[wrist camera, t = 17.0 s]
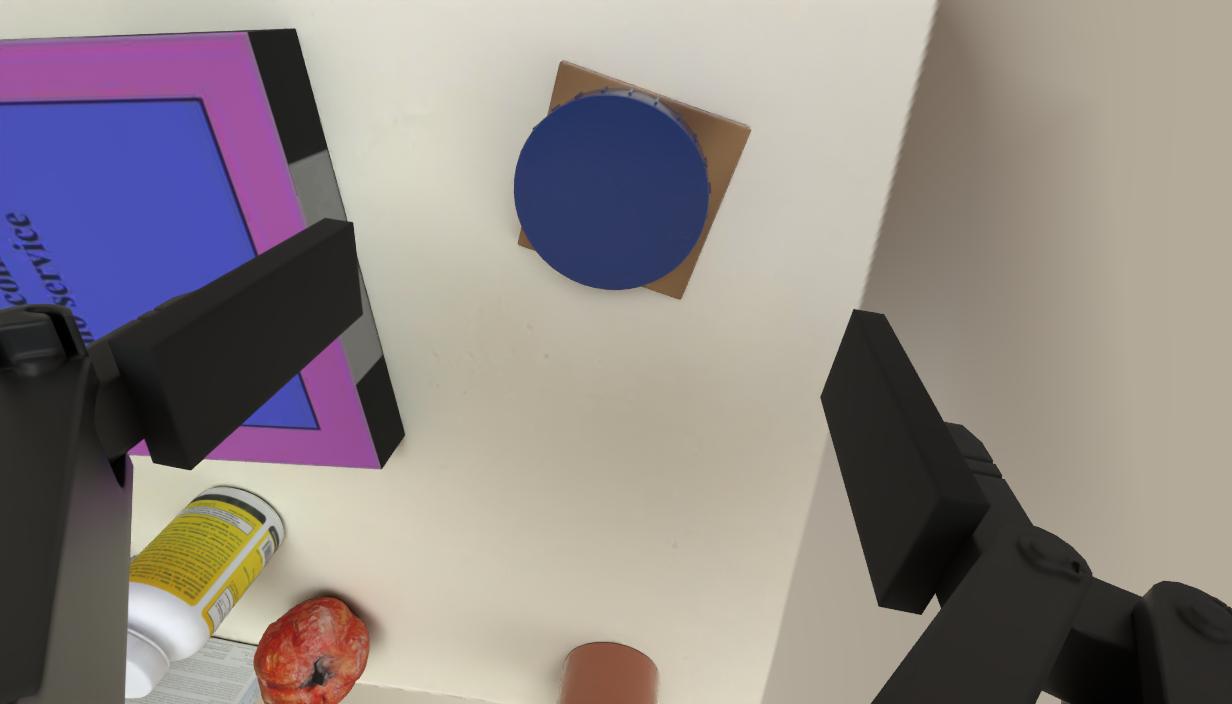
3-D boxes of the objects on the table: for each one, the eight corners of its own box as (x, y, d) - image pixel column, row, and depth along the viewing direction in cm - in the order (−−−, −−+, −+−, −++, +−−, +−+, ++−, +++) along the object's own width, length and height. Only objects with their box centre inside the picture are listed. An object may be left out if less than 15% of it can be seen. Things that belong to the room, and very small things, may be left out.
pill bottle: (180, 491, 40) (19, 643, 31) (251, 475, 38) (105, 631, 29) (236, 553, 43) (105, 710, 33) (305, 542, 41) (188, 703, 32)
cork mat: (750, 126, 24) (751, 129, 24) (681, 294, 28) (680, 300, 28) (562, 60, 24) (559, 61, 23) (520, 240, 28) (517, 244, 27)
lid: (506, 240, 27) (494, 255, 26) (549, 56, 23) (538, 60, 22) (670, 297, 28) (668, 315, 26) (740, 126, 24) (743, 136, 22)
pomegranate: (364, 626, 49) (408, 684, 42) (275, 696, 45) (306, 774, 38) (318, 558, 47) (356, 607, 39) (220, 626, 43) (241, 695, 35)
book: (381, 469, 32) (-87, 442, 36) (405, 434, 35) (-35, 413, 38) (247, 31, 22) (-399, 55, 25) (295, 28, 24) (-298, 50, 28)
